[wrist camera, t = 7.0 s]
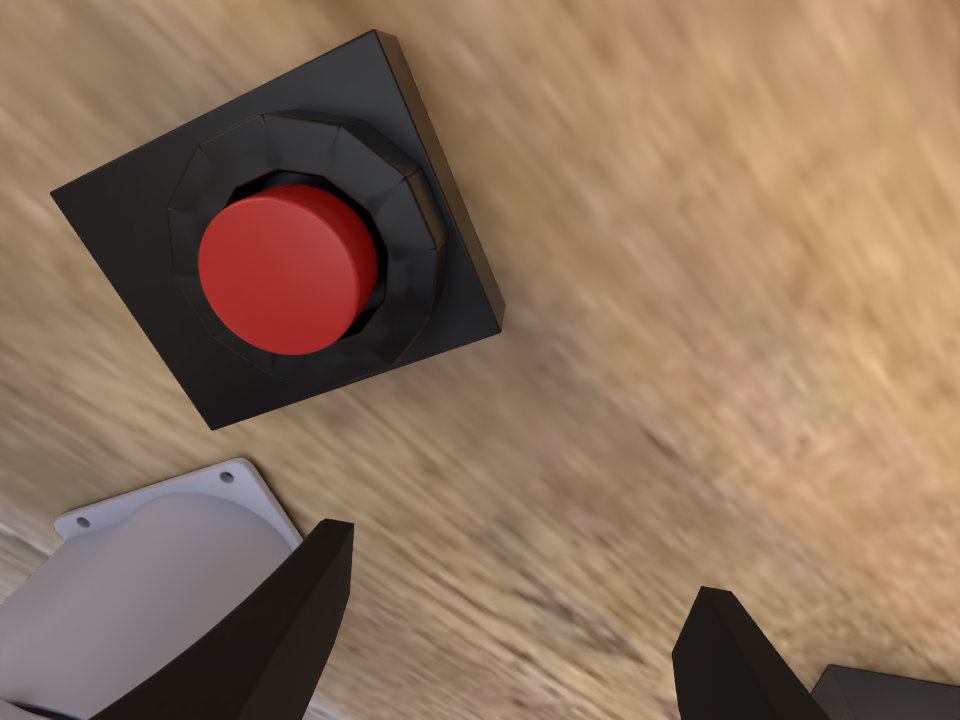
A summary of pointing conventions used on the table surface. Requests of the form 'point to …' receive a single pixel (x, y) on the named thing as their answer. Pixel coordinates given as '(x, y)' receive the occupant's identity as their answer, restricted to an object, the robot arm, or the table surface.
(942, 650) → the table surface
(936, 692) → the panel
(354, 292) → the red button
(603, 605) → the table surface
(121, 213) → the button box
